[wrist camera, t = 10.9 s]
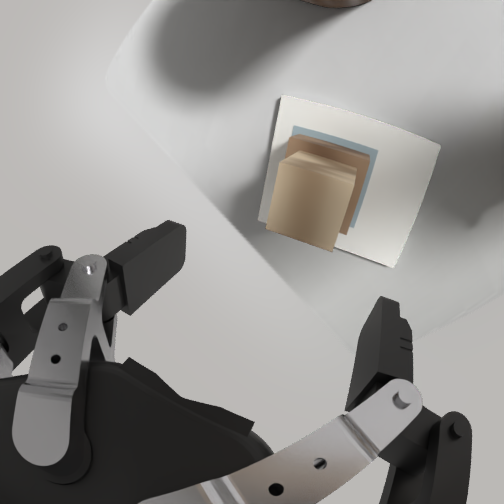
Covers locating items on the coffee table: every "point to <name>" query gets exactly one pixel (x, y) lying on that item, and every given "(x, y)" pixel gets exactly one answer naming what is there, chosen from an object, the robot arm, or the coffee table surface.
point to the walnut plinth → (339, 155)
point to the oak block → (311, 199)
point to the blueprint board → (377, 178)
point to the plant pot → (336, 3)
